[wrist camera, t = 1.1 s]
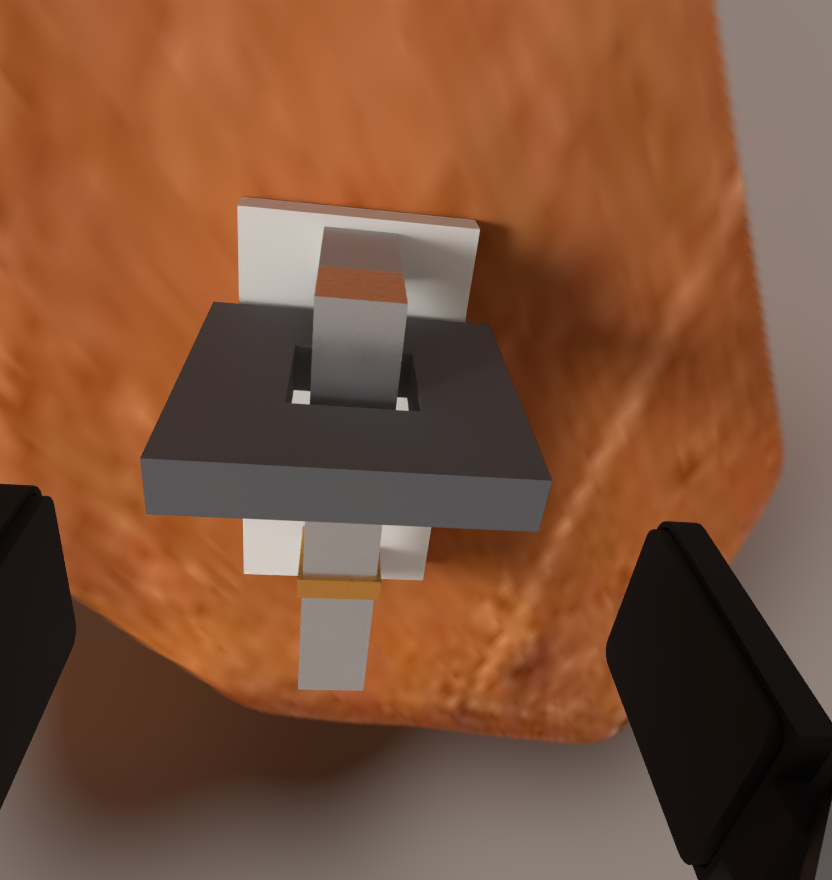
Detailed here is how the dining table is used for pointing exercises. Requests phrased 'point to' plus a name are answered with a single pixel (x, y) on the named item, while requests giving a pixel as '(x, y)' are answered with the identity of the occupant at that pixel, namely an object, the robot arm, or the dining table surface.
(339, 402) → the grey square bar
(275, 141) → the dining table surface
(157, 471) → the collar
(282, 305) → the stand
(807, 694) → the robot arm
